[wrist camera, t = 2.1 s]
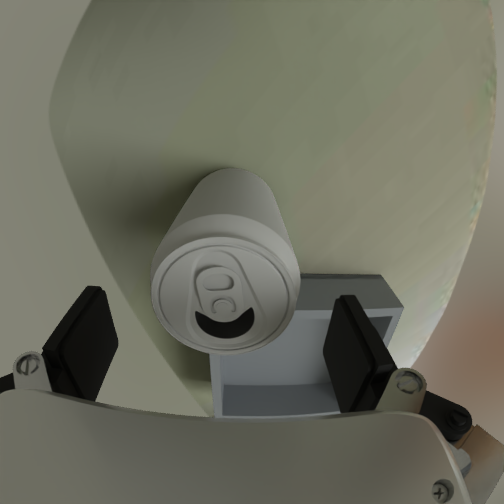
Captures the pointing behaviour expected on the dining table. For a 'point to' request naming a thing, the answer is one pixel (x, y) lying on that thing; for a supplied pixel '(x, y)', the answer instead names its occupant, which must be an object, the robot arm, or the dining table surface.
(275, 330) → the beverage can
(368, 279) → the box
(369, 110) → the dining table surface
